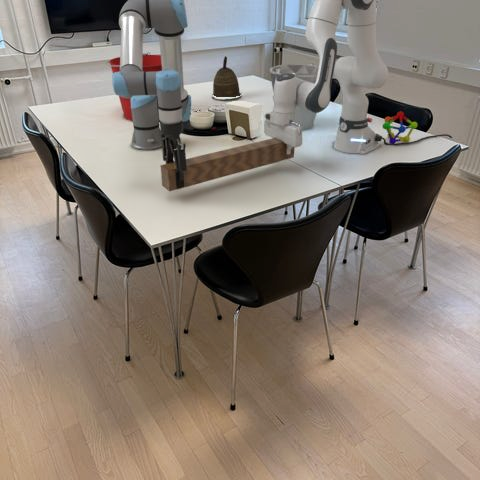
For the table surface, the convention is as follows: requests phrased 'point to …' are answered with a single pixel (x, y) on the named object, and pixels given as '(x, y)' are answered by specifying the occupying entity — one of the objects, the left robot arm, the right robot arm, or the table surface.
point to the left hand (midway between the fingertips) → (176, 184)
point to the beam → (226, 162)
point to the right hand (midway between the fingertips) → (282, 151)
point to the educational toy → (398, 128)
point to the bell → (225, 82)
